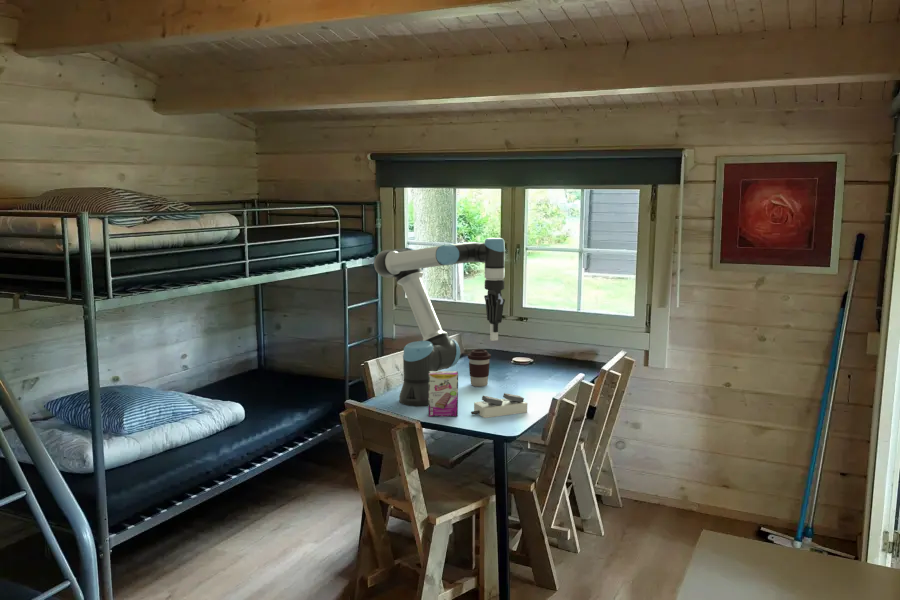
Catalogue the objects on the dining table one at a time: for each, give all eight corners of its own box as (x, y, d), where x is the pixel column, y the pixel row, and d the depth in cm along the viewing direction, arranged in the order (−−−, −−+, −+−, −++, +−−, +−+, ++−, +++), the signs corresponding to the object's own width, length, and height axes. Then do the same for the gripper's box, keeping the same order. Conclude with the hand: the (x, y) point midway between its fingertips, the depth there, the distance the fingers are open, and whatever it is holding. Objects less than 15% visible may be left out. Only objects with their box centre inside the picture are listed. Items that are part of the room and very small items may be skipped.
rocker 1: (485, 402, 270) (487, 397, 270) (481, 399, 274) (482, 394, 274) (501, 405, 273) (502, 400, 273) (497, 402, 277) (498, 398, 277)
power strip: (477, 419, 269) (477, 407, 268) (466, 412, 277) (466, 401, 276) (527, 412, 277) (527, 401, 276) (515, 405, 285) (516, 395, 285)
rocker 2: (507, 399, 274) (508, 395, 274) (503, 397, 277) (504, 392, 277) (523, 402, 277) (524, 397, 277) (518, 399, 280) (519, 395, 280)
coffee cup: (488, 388, 311) (489, 353, 309) (465, 387, 313) (465, 352, 311) (492, 382, 321) (492, 348, 318) (469, 381, 323) (469, 348, 320)
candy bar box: (428, 417, 271) (428, 374, 269) (428, 413, 276) (428, 370, 274) (458, 416, 272) (458, 373, 269) (457, 412, 277) (457, 370, 274)
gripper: (511, 280, 272) (510, 342, 276) (495, 276, 284) (495, 336, 288) (493, 281, 270) (492, 344, 273) (478, 277, 281) (477, 337, 285)
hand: (494, 340), depth 280 cm, fingers closed
